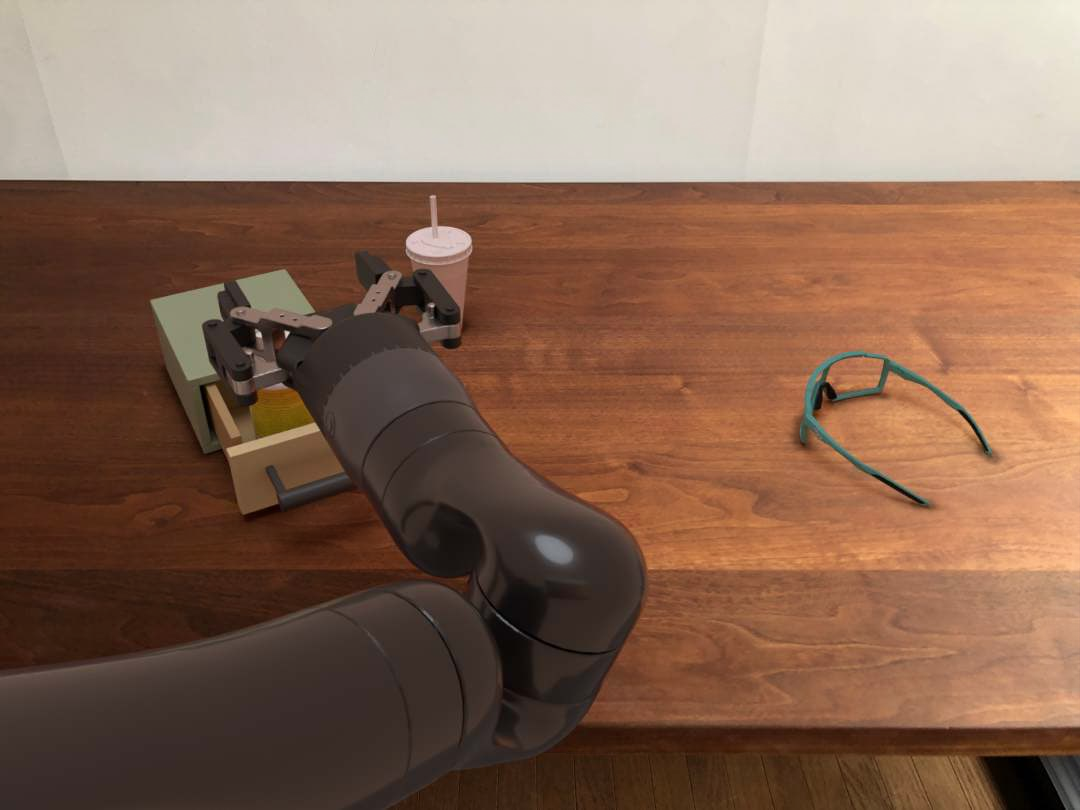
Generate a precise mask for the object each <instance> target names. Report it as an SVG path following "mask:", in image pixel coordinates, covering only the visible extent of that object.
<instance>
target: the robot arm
mask: <svg viewBox="0 0 1080 810" xmlns="http://www.w3.org/2000/svg"><path fill="white" fill-rule="evenodd" d="M354 261H355V268H356V276H357V280H358V282H359V283H360V285H361V286H362V287H363V288H364V290H365V291H366V294H365V296H364V298H363V299H362V301H361V303H358V304H355V303H354V302H351V303H345V304H343V305H339V306H337V307H335V308H332V309H329V310H322V311H315V312H314V313H310V314H306V315H301V314H297V313H293V312H290V311H286V310H282V309H278V308H273V309H272V310H271V311H269V312H268V313H267V312H263V311H259V310H256V309H252V308H251V305H250V303H249V301H248V300H247V298H246V296H245V295H244V293H243V292H242V290H241V288H240V287H239V285H238V283H237V282H236V280H237V279H235V280H230V281H225V282H223V283H224V289H225V290H224V291H220V292H218V295H217V298H218V303H219V308H220V313H221V317H222V319H223V320H224V321H221V320H219V319H211V320H208V321H205V322H204V323H203V324H202V329H203V334H204V339H205V343H206V348H207V353H208V358H209V362H210V364H211V365H212V367H213V368H214V370H215V371H216V373H217V374H218V376H219V377H220V379H221V380H222V382H223V383H224V385H225V387H226V388H227V390H228V391H229V393H230V394H231V396H232V397H233V399H234V400H235V402H236V403H237V404H238V405H239V406H243V407H247V406H251V405H254V404H255V403H256V402H257V401H258V395H257V390H260V389H263V388H266V387H270V386H273V385H276V384H279V383H282V384H283V385H285V386H286V387H288V388H291V389H293V390H295V391H296V392H297V393H298V394H299V396H300V398H301V399H302V401H303V403H304V405H305V406H306V408H307V410H308V411H309V413H310V415H311V416H312V418H313V420H314V421H315V423H316V425H317V426H318V428H319V430H320V431H321V433H322V435H323V436H324V438H325V440H326V441H327V443H328V445H329V446H330V448H331V449H332V451H333V453H334V454H335V456H336V458H337V459H338V461H339V463H340V464H341V466H342V468H343V469H344V471H345V472H346V474H347V475H348V477H349V478H350V479H351V480H352V482H353V483H354V484H355V485H356V486H357V487H358V488H357V489H358V490H360V492H361V493H362V494H363V495H364V496H365V497H366V499H367V500H368V501H369V504H370V505H371V507H372V508H373V510H374V512H375V513H376V514H377V516H378V518H379V520H380V521H381V523H382V524H383V527H385V529H386V531H387V533H388V534H389V536H390V538H391V539H392V541H393V543H394V544H395V546H396V547H397V549H398V550H399V551H400V552H401V554H402V555H403V556H404V557H405V558H406V559H407V561H408V562H409V563H410V564H411V565H412V566H414V567H415V568H416V569H418V570H419V571H421V572H422V573H424V574H426V575H428V576H430V577H433V578H434V577H435V578H438V579H448V580H449V579H450V580H452V579H453V580H454V579H461V578H466V577H468V578H467V579H468V580H467V582H466V583H465V586H464V588H463V590H462V592H460V591H459V590H457V589H456V588H454V587H452V586H449V585H448V584H445V583H443V582H440V581H435V580H430V579H423V578H409V579H400V580H395V581H394V580H393V581H389V582H386V583H382V584H378V585H375V586H371V587H368V588H365V589H363V590H359V591H355V592H352V593H349V594H346V595H345V594H344V595H342V596H340V597H336V598H333V599H330V600H327V601H324V602H321V603H318V604H315V605H311V606H308V607H305V608H302V609H299V610H296V611H293V612H290V613H287V614H284V615H281V616H278V617H275V618H271V619H268V620H266V621H263V622H260V623H257V624H252V625H249V626H246V627H242V628H238V629H234V630H232V631H228V632H224V633H220V634H216V635H212V636H207V637H204V638H199V639H195V640H191V641H185V642H181V643H177V644H173V645H167V646H161V647H156V648H151V649H144V650H138V651H135V652H128V653H121V654H115V655H108V656H102V657H101V656H100V657H94V658H86V659H78V660H76V659H75V660H69V661H61V662H53V663H47V664H39V665H32V666H31V665H29V666H24V667H17V668H16V667H15V668H9V669H0V810H388V809H390V808H391V807H392V806H394V805H396V804H398V803H400V802H401V801H403V800H405V799H407V798H409V797H410V796H412V795H413V794H415V793H417V792H419V791H421V790H422V789H424V788H426V787H427V786H429V785H431V784H433V783H435V782H436V781H438V780H439V779H441V778H443V777H444V776H445V775H447V774H449V773H451V772H452V771H453V772H454V771H462V770H473V769H480V768H481V769H482V768H485V767H490V766H495V765H500V764H505V763H510V762H516V761H521V760H525V759H530V758H533V757H536V756H538V755H541V754H543V753H544V752H546V751H548V750H550V749H552V748H553V747H555V746H556V745H557V744H558V743H560V742H562V740H564V739H565V738H566V737H567V736H568V735H569V734H571V732H572V731H573V730H575V729H576V727H577V726H578V725H579V724H580V723H581V722H582V721H583V719H584V718H585V717H586V715H587V714H588V713H589V711H590V710H591V708H592V706H593V704H594V702H595V701H596V699H597V697H598V695H599V694H600V692H601V690H602V688H603V686H604V684H605V682H606V680H607V679H608V676H609V675H610V673H611V671H612V670H613V667H614V666H615V664H616V662H617V660H618V658H619V657H620V654H621V653H622V651H623V649H624V647H625V646H626V644H627V642H628V640H629V638H630V637H631V635H632V633H633V631H634V629H635V627H636V626H637V624H638V622H639V620H640V618H641V616H642V614H643V612H644V611H645V608H646V604H647V602H648V598H649V595H650V584H651V583H650V573H649V569H648V568H649V567H648V564H647V560H646V557H645V555H644V552H643V549H642V547H641V545H640V543H639V541H638V540H637V538H636V536H635V535H634V533H633V532H632V531H631V530H630V529H629V528H628V526H627V525H625V524H624V523H623V522H622V521H621V520H620V519H619V518H617V517H616V516H614V515H613V514H611V513H610V512H608V511H607V510H605V509H603V508H602V507H599V506H597V505H595V504H593V503H592V502H590V501H588V500H586V499H584V498H582V497H580V496H578V495H576V494H574V493H573V492H571V491H569V490H567V489H566V488H564V487H563V486H561V485H559V484H557V483H556V482H555V481H553V480H551V479H549V478H548V477H546V476H545V475H543V474H542V473H540V472H539V471H537V470H536V469H534V468H533V467H531V466H530V465H528V464H527V463H525V462H524V461H522V460H521V459H520V458H519V457H517V456H516V455H515V454H513V452H512V451H511V450H510V448H509V447H508V446H507V445H506V443H505V442H504V441H503V440H502V439H501V437H500V436H499V434H497V432H496V431H495V430H494V429H493V427H492V426H491V425H490V424H489V423H488V422H487V420H486V418H484V417H483V416H482V414H481V412H480V410H479V408H478V407H477V404H476V403H475V400H474V399H473V397H472V396H471V394H470V393H469V391H468V389H466V387H465V385H464V384H463V382H462V380H461V379H460V378H459V377H458V376H457V375H455V374H454V372H453V371H452V370H451V369H450V367H449V366H448V365H447V364H446V363H445V362H444V360H443V359H442V358H441V357H440V355H439V354H438V353H437V352H436V351H435V349H434V348H433V347H432V346H431V345H430V344H431V343H434V342H439V343H440V345H441V346H442V347H443V348H444V349H447V350H456V349H458V348H460V347H461V346H462V344H463V343H462V341H463V340H462V329H461V315H460V307H459V306H458V305H457V303H456V302H455V301H454V299H453V298H452V297H451V296H450V294H449V293H448V292H447V290H446V289H445V288H444V286H443V285H442V284H441V283H440V281H439V280H438V279H437V277H436V276H435V275H434V274H433V272H432V271H431V270H429V269H417V270H415V271H414V272H413V271H412V276H403V274H402V272H400V271H398V270H393V269H392V268H391V267H390V266H389V265H388V264H387V262H386V261H385V260H384V259H383V258H382V257H380V256H378V255H376V254H375V255H374V254H373V255H371V253H370V252H369V251H368V250H367V249H364V250H359V251H355V252H354ZM410 306H415V310H416V311H417V312H418V314H419V316H420V317H421V319H422V320H421V321H420V322H417V321H416V320H415V319H413V318H412V317H409V316H406V315H403V313H404V311H405V307H410ZM255 329H257V330H259V331H260V332H261V335H262V338H260V337H257V336H256V332H255ZM285 331H288V332H290V333H289V335H288V336H287V338H286V336H285ZM254 355H255V356H258V357H262V358H263V359H265V361H266V362H265V361H262V360H261V359H260V358H257V357H254Z"/></svg>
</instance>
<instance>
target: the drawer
mask: <svg viewBox="0 0 1080 810" xmlns="http://www.w3.org/2000/svg"><path fill="white" fill-rule="evenodd" d="M200 386H201V390H202V394H203V399H204V403H205V408H206V412H207V417H208V420H209V422H210V424H211V426H212V428H213V430H214V432H215V434H216V436H217V439H218V441H219V443H220V445H221V447H222V449H221V450H222V451H223V453H224V456H225V457H226V460H227V462H228V465H229V468H230V473H231V477H232V482H233V488H234V492H235V497H236V500H237V501H236V502H237V507H238V509H239V511H240V512H241V515H246V514H250V513H253V512H257V511H260V510H262V509H266V508H269V507H272V506H275V505H278V506H279V508H280V511H281V512H282V513H284V512H288V511H290V510H294V509H297V508H300V507H303V506H307V505H310V504H312V503H315V502H319V501H322V500H325V499H328V498H332V497H334V496H337V495H340V494H344V493H346V492H351V491H353V490H356V489H359V488H358V487H357V486H356V485H355V484H354V483H353V482H352V480H351V479H350V478H349V477H348V475H347V474H346V472H345V471H344V469H343V468H342V466H341V464H340V463H339V461H338V459H337V458H336V456H335V454H334V453H333V451H332V449H331V448H330V446H329V445H328V443H327V441H326V440H325V438H324V436H323V435H322V433H321V431H320V430H319V428H318V426H317V425H316V423H312V424H309V425H305V426H302V427H298V428H295V429H291V430H288V431H285V432H281V433H278V434H274V435H271V436H267V437H264V438H261V439H257V440H256V438H255V433H254V427H253V422H252V417H251V412H250V407H249V406H247V407H243V406H239V405H238V404H237V403H236V402H235V400H234V399H233V397H232V396H231V394H230V393H229V391H228V390H227V388H226V387H225V385H224V383H223V382H222V380H218V381H215V382H211V383H207V384H203V385H200Z"/></svg>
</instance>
